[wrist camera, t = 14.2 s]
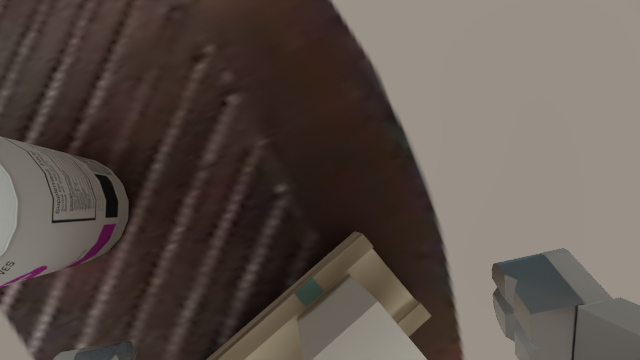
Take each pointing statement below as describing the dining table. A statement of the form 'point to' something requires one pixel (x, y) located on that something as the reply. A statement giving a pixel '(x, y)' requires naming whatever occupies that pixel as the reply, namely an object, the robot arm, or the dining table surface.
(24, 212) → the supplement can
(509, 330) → the robot arm
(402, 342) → the rider
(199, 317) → the dining table surface
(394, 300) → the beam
